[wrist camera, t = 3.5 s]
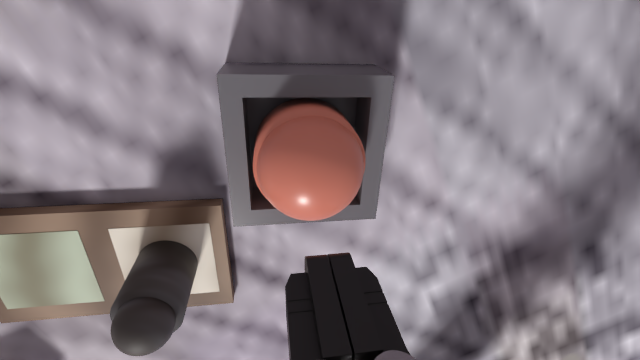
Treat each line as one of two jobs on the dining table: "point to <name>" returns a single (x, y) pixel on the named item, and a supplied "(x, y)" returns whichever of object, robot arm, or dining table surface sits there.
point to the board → (102, 254)
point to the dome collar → (292, 83)
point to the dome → (308, 159)
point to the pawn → (153, 298)
